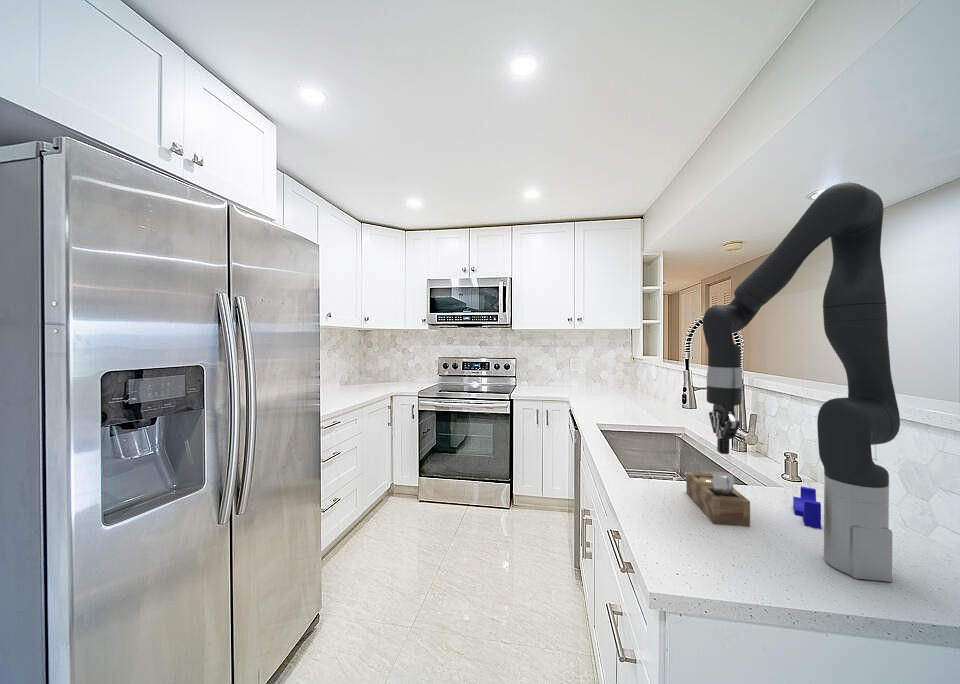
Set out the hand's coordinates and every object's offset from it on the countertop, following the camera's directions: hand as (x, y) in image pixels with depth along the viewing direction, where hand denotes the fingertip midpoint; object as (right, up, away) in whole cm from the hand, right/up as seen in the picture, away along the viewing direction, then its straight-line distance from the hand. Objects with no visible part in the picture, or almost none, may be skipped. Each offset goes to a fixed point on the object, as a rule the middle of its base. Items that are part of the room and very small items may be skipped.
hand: (723, 453), depth 101 cm
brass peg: (+2, -16, +10) cm, 19 cm away
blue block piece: (+21, -16, -1) cm, 26 cm away
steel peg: (0, -12, 0) cm, 12 cm away
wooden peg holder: (+1, -16, +5) cm, 17 cm away
